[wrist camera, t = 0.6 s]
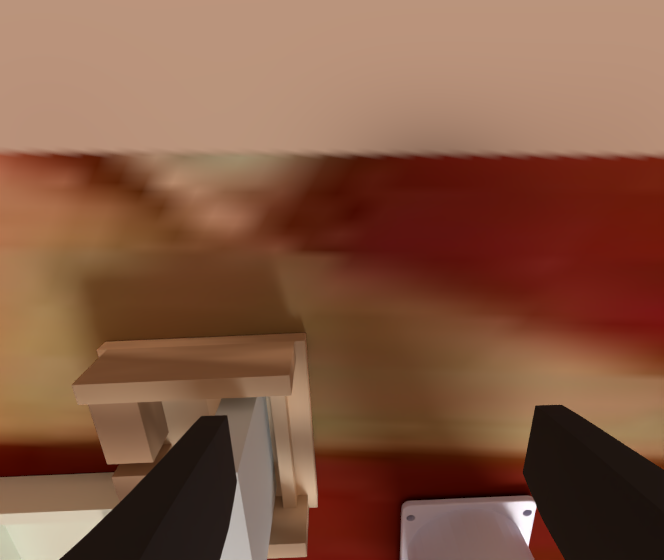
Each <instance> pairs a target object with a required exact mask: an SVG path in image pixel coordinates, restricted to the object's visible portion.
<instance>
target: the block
mask: <svg viewBox="0 0 664 560" xmlns="http://www.w3.org/2000/svg"><path fill="white" fill-rule="evenodd" d="M215 415H227V417H228V423H229V430H230V437H231V444H232V450H233V457H234V464H235V471H236V477H237V486H236V491H235V497H234V503H233V509H232V514H231V520H230V525H229V530H228V533H227V537H226V541H225V544H224V548H223V551H222V555H221V558H220V560H267V555H268V547H269V540H270V533H271V525H272V518H273V511H274V504H275V496H276V489H277V484H276V476H275V468H274V459H273V451H272V443H271V435H270V427H269V419H268V411H267V403H266V397H246V398H223V399H221V401H220V404H219V406H218V409H217V412H216V414H215Z"/></svg>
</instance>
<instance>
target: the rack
mask: <svg viewBox="0 0 664 560" xmlns="http://www.w3.org/2000/svg"><path fill="white" fill-rule="evenodd" d="M97 353H98V357H99V358H98V359H97V360H96V361H95V362H94V363H93V364H92V365H91V366H90V367H89V368H88V369H87V370H86V371H85V372H84V373H83V374H82V375H81V376H80V377H79V378H78V379H77V380H76V381H75V382H74V383H73V384H72V388H73V391H74V394H75V397H76V400H77V403H78V405H90V404H112V403H134V402H157V401H162V405H163V410H164V414H165V418H166V422H167V426H168V430H169V433H168V435H167V437H166V439H165V441H164V443H163V444H172V447H173V446H174V445H175V444H176V443H177V441H178V440H179V439H180V438H181V437H182V436H183V435H184V434H185V433H186V432H187V430H188V429H189V428H190V427H191V426H192V425H193V424H194V423H195V422H196V421H197V420H198V419H199V418H200V417H201V416H215V414H216V412H217V409H218V406H219V404H220V401H221V399H223V398H246V397H266V403H267V411H268V419H269V427H270V435H271V443H272V451H273V459H274V468H275V476H276V484H277V489H276V496H275V504H274V511H273V518H272V525H271V533H270V540H269V547H268V555H267V559H268V558H290V557H307V539H308V516H309V507H318V492H317V478H316V465H315V452H314V438H313V425H312V411H311V398H310V384H309V371H308V358H307V344H306V333H288V334H266V335H244V336H221V337H199V338H177V339H155V340H132V341H110V342H105V343H103V344H102V345H101V346H100V347H99V348H98V349H97Z"/></svg>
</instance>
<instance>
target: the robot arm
mask: <svg viewBox="0 0 664 560" xmlns="http://www.w3.org/2000/svg"><path fill="white" fill-rule="evenodd" d="M523 475H524V477H525V480H526V482H527V485H528V487H529V489H530V492H531V494H532V497H531V496H527V495H524V496H502V497H480V498H458V499H435V500H413V501H406V502H404V503H403V504H402V507H401V538H400V560H534V558H533V556H532V554H531V552H530V550H529V547H528V546H529V541H530V536H531V531H532V526H533V521H534V516H535V511H536V506H537V508H538V510H539V513H540V515H541V517H542V519H543V521H544V523H545V525H546V527H547V528H548V530H549V532H550V534H551V536H552V537H553V539H554V541H555V543H556V545H557V546H558V548H559V550H560V552H561V553H562V555H563V557H564V559H565V560H664V470H663V469H662V468H660V467H658V466H657V465H655V464H654V463H652V462H651V461H649V460H647V459H646V458H644V457H643V456H641V455H640V454H638V453H637V452H635V451H634V450H632V449H630V448H629V447H627V446H626V445H624V444H623V443H621V442H620V441H618V440H617V439H615V438H614V437H612V436H611V435H609V434H607V433H606V432H604V431H603V430H601V429H600V428H598V427H597V426H595V425H594V424H592V423H590V422H589V421H587V420H586V419H584V418H583V417H581V416H579V415H578V414H576V413H575V412H573V411H571V410H570V409H568V408H566V407H564V406H563V405H542V406H535V411H534V416H533V422H532V427H531V432H530V437H529V443H528V448H527V453H526V458H525V464H524V469H523ZM236 486H237V477H236V471H235V464H234V457H233V450H232V444H231V437H230V430H229V423H228V417H227V415H215V416H201V417H200V418H199V419H198V420H197V421H196V422H195V423H194V424H193V425H192V426H191V427H190V428H189V429H188V430H187V432H186V433H185V434H184V435H183V436H182V437H181V438H180V439H179V440H178V441H177V443H176V444H175V445H174V446H173V447H172V448H171V449H170V450H169V451H168V452H167V453H166V455H165V456H164V457H163V458H162V459H161V460H160V461H159V462H158V463H157V464H156V465H155V466H154V467H153V468H152V470H151V471H150V472H149V473H148V474H147V475H146V476H145V477H144V478H143V479H142V480H141V481H140V482H139V483H138V484H137V485H136V486H135V487H134V488H133V489H132V490H131V492H130V493H129V494H128V495H127V496H126V497H125V498H124V499H123V500H122V501H121V502H120V503H119V504H117V505H116V506H115V507H114V508H113V509H112V510H111V511H110V512H109V513H108V514H107V515H106V516H105V517H104V518H103V519H102V520H101V521H100V522H99V523H98V524H97V525H96V526H95V527H94V528H93V529H92V530H91V531H90V532H89V533H88V534H87V535H85V536H84V537H83V538H82V539H81V540H80V541H79V542H78V543H77V544H76V545H75V546H74V547H72V548H71V549H70V550H69V551H68V552H67V553H66V554H65V555H64V556H62V557H61V558H60V559H59V560H220V558H221V555H222V551H223V548H224V544H225V541H226V537H227V533H228V530H229V525H230V520H231V514H232V509H233V503H234V497H235V491H236Z"/></svg>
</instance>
